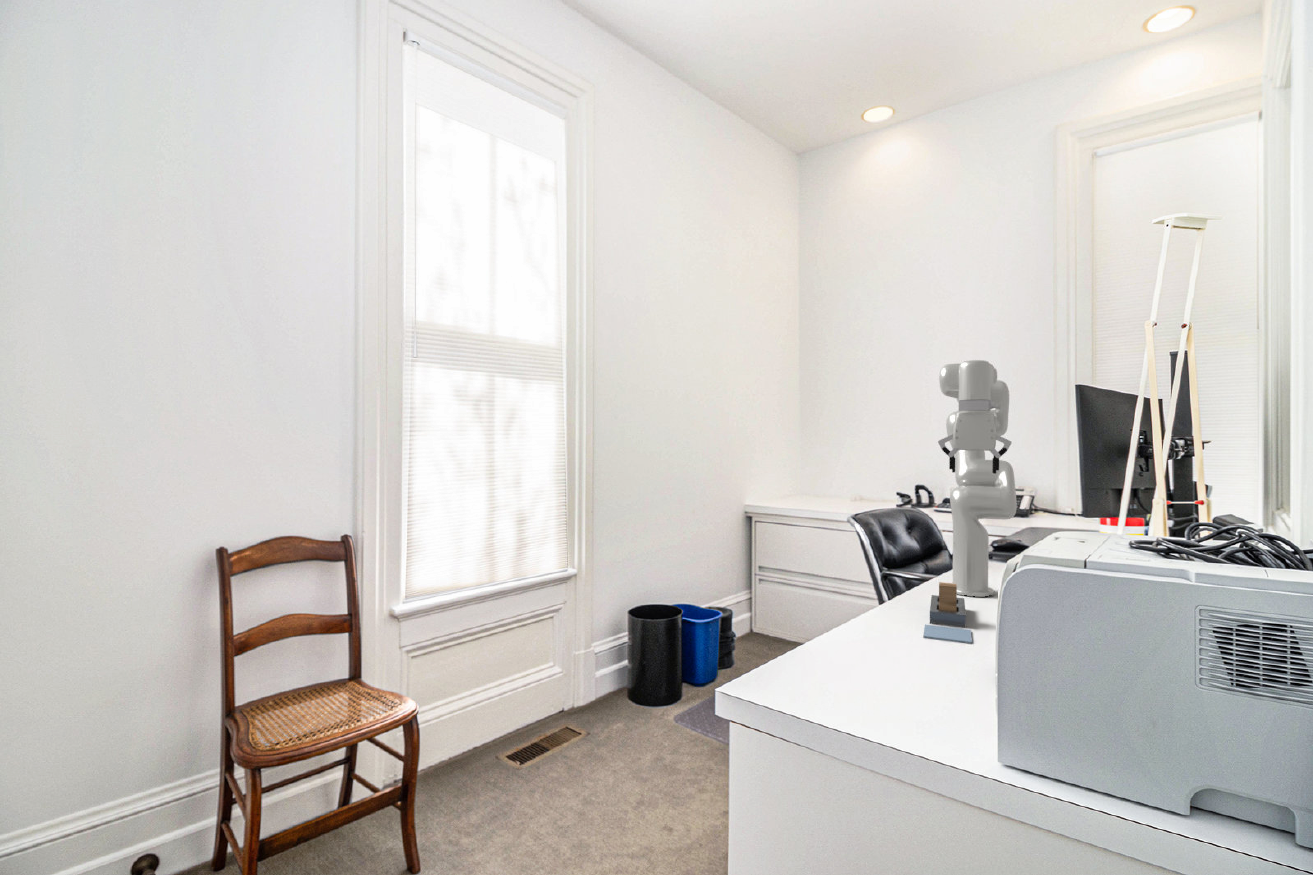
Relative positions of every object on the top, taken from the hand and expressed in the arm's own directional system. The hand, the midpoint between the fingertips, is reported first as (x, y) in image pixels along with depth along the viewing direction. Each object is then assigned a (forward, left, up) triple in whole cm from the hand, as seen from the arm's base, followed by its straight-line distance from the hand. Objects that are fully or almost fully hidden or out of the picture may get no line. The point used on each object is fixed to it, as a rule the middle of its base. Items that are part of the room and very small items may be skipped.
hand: (973, 472), depth 170 cm
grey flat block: (+7, -6, -37) cm, 38 cm away
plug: (+11, -6, -37) cm, 39 cm away
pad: (+24, -6, -37) cm, 44 cm away
